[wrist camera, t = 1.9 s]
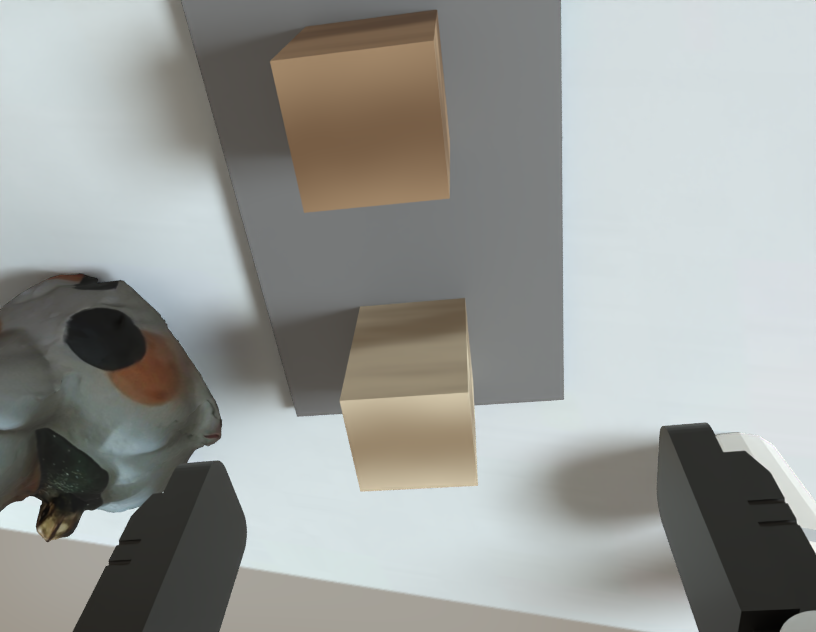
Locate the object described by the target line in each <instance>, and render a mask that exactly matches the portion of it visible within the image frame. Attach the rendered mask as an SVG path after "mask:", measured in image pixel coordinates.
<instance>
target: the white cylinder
mask: <svg viewBox="0 0 816 632" xmlns="http://www.w3.org/2000/svg"><path fill="white" fill-rule="evenodd" d="M716 438H717V440H718V442H719V444H720V446H721V448H722V450H723V452H732V451H746V452H747V453H748V454H750V455H751V456H752V457H753V458H754V459H755V460H757V461H758V462H759V463H760V464H761V465H763V466H764V467H765V468H766V469H767V470H769V471H770V472H771V474H772V476H773V478H774V480H775V481H776V483H777V485H778V487H779V488H780V490H781V492H782V494H783V496H784V497H785V502H786V503H788V505H789V506H790V508H791V510H792V512H793V514H794V515H795V517H796V519H797V524H798V525H800V526H801V528H802V530H803V532H804V533H805V535H806V537H807V539H808V541H809V542H810V544H811V546H812V548H813V550H814V551H815V553H816V501H815V500H814V499H813V497H812V496H811V495H810V493H809V492H808V490H807V489H806V488H805V486H804V485H803V484H802V482H801V481H800V480H799V478H798V477H797V476H796V474H795V473H794V472H793V470H792V469H791V468H790V466H789V465H788V464H787V462H786V461H785V460H784V458H783V457H782V456H781V454H780V453H779V452H778V450H777V449H776V448H775V446H774V445H773V444H772V443H770V442H768V441H767V440H765V439H763V438H762V437H760V436H758V435H752V434H747V433H741V432H736V433H728V434H719V435H716Z"/></svg>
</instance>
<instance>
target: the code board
mask: <svg viewBox="0 0 816 632" xmlns="http://www.w3.org/2000/svg"><path fill="white" fill-rule="evenodd" d="M181 2H182V6H183V9H184V13H185V16H186V20H187V24H188V27H189V31H190V34H191V38H192V42H193V45H194V49H195V52H196V56H197V59H198V63H199V67H200V70H201V74H202V77H203V81H204V84H205V88H206V92H207V95H208V99H209V102H210V106H211V110H212V113H213V117H214V120H215V124H216V127H217V131H218V135H219V138H220V142H221V145H222V149H223V153H224V156H225V160H226V163H227V167H228V170H229V174H230V178H231V181H232V185H233V188H234V192H235V195H236V199H237V203H238V206H239V210H240V213H241V217H242V221H243V224H244V228H245V231H246V235H247V238H248V242H249V246H250V249H251V253H252V256H253V260H254V264H255V267H256V271H257V274H258V278H259V281H260V285H261V289H262V292H263V296H264V299H265V303H266V307H267V310H268V314H269V317H270V321H271V324H272V328H273V332H274V335H275V339H276V342H277V346H278V349H279V353H280V357H281V360H282V364H283V367H284V371H285V375H286V378H287V382H288V385H289V389H290V392H291V396H292V400H293V403H294V407H295V410H296V414H297V417H299V416H314V415H330V414H342V409H341V405H340V396H341V392H342V387H343V383H344V378H345V373H346V369H347V364H348V360H349V355H350V350H351V346H352V341H353V337H354V332H355V327H356V323H357V318H358V314H359V309H360V307H361V306H373V305H386V304H398V303H410V302H422V301H435V300H447V299H459V298H465V302H466V312H467V323H468V333H469V343H470V354H471V364H472V375H473V388H474V405H488V404H504V403H519V402H535V401H551V400H564V365H563V228H562V91H561V0H181ZM429 10H437V12H438V22H439V32H440V43H441V53H442V64H443V74H444V84H445V95H446V105H447V115H448V126H449V136H450V199H440V200H429V201H419V202H409V203H399V204H389V205H379V206H368V207H358V208H348V209H338V210H328V211H318V212H308V213H304V210H303V206H302V201H301V197H300V192H299V188H298V184H297V179H296V175H295V170H294V166H293V161H292V157H291V153H290V148H289V144H288V139H287V135H286V130H285V126H284V121H283V117H282V113H281V108H280V104H279V99H278V95H277V90H276V86H275V82H274V77H273V73H272V68H271V64H270V61H271V60H272V59H273V58H274V57H275V56H276V55H277V54H278V53H279V52H280V51H281V50H282V49H283V48H284V47H285V46H286V45H287V44H288V43H289V42H290V41H291V40H292V39H293V38H294V37H295V36H297V35H298V34H299V33H300V32H301V31H302V30H303V29H304V28H305V27H307V26H314V25H322V24H330V23H337V22H345V21H353V20H360V19H368V18H376V17H383V16H391V15H399V14H406V13H414V12H422V11H429Z"/></svg>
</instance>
